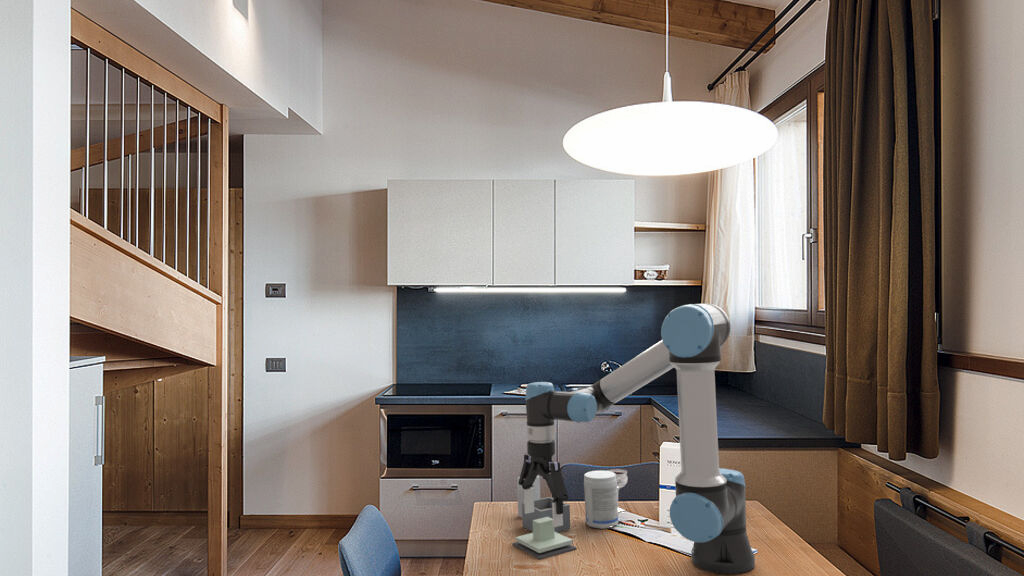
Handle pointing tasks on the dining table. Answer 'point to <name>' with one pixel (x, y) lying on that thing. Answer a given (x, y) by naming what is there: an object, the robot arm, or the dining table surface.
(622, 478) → the wineglass
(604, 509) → the supplement tub
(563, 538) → the lid
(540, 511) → the storage box
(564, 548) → the mat
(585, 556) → the dining table surface
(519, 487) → the skincare box
